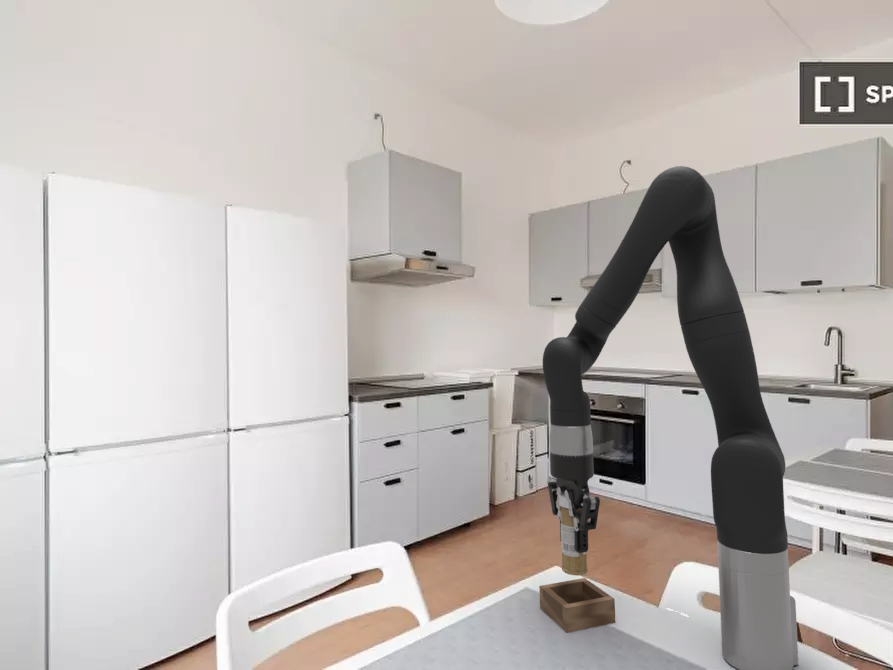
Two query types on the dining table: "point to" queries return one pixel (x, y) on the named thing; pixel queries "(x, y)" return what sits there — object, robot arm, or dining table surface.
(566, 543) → the sprinkles bottle
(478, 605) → the dining table surface
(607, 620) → the frame
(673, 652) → the dining table surface
